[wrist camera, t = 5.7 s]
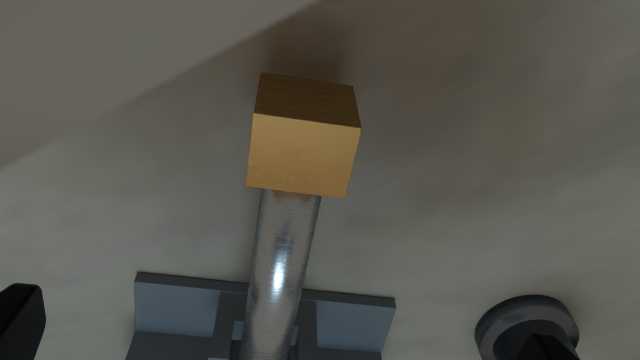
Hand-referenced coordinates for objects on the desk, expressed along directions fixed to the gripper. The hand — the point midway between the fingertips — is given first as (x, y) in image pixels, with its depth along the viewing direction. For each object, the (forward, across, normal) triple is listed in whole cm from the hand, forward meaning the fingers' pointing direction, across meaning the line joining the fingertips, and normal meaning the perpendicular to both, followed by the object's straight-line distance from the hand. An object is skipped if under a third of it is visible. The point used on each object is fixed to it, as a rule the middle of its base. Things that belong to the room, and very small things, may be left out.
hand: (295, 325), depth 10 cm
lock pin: (+9, 0, +6) cm, 11 cm away
